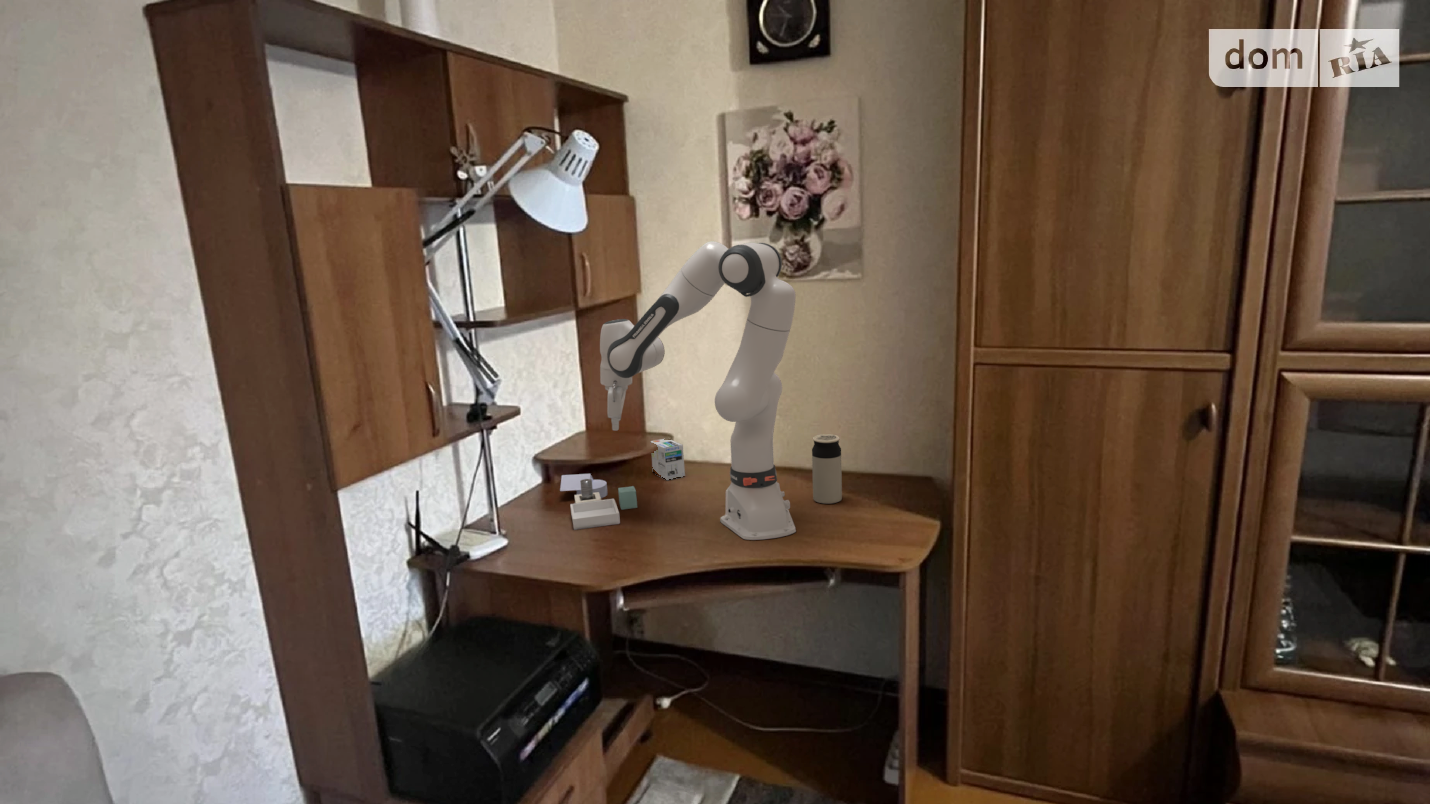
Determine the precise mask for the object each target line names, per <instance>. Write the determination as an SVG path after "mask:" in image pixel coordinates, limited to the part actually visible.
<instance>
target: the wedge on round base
mask: <svg viewBox="0 0 1430 804" xmlns="http://www.w3.org/2000/svg"><path fill="white" fill-rule="evenodd" d="M591 474H592V473H579V474H562V475H561V479H560V480H561V481H560V488H559V491H560V492H566V491H567V492H568V491H576V495H579V494H582V493H581V483H580V481H581V480H583V479H591V480H592V488H593V493H595V492H599V494H600V498H601V499H603V498H605V497H606V496H608V485H607V481H606V480H603V479H594V477H593V475H591Z"/></svg>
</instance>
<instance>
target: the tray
mask: <svg viewBox="0 0 1430 804" xmlns="http://www.w3.org/2000/svg"><path fill="white" fill-rule="evenodd" d="M569 506H570V515H571V520H572V526H573V531H576V530H577V531H578V530H583V529H590V528H592V529H593V528H598V527H599V528H601V527H606V526H607V527H608V526H611V525H612V526H614V525H619V524H621V519H620V516H621V515H620V511H619V509H618V506H617V502H616V500H615V498H607V499H601V500H599V501H591V502H583V503H576V504H575V503H570V505H569Z"/></svg>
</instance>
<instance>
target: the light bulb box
mask: <svg viewBox="0 0 1430 804" xmlns="http://www.w3.org/2000/svg"><path fill="white" fill-rule="evenodd" d="M664 439H665V438H660V439H655V440H650V442H651V443H654V444H656V445H657V447H658V450H656V451H654V453H651V454H650V455H651V468H652V467H653V468H652V470H653V469H654V470H655V471H656V472H657V473H658V474H659V475H661V477H660V478H662V477H663V478H665V479H666V480H665V479H664V480H665V481H670V480H669V479H671V480H674V479H673V478H676V477H681V478H684V477H683V476H685V477H686V473H685V472H686V470H685V460H684V458H685V457H684V444H683V443H680V442H678V441H676V440H672V439H671V440H664ZM651 443H650V444H651ZM663 478H662V479H663ZM676 479H677V478H676Z"/></svg>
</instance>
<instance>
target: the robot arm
mask: <svg viewBox="0 0 1430 804" xmlns="http://www.w3.org/2000/svg"><path fill="white" fill-rule="evenodd" d="M782 268H783V259H782V256H781V254H780V252H779V251H778V249H777V248H776V247H774V246H773V245H771V244H769V243H765V242H746V243H741V244H736V245H734V246H730V248H728V247H727V246H726V245H725V244H723V243H721V242H718V241H714V240H713V241H707V242H705V243H704V244H703V245H701V246H700V247H698V249H696V251H695V252H694V253H692V254H691V256H690V257H689V258H688V259H687V260H686V261H685V263H684V264H683V265H682V266H681V268H680V269H679V270H678V272H677V273H676V275H674V277H673V278H672V280H671V281H670V282H669V284H668V286H667V287H666V288H665V290H664V291H663V292H662V293H661V294H660V296H658V298H657V300H655V302H654V303H653V304H652V305H651V306H650V307H649V309H648V310H647V311H646V312H645V313H644V314H643V315H642V316H641V318H639V320H638V321H637V322H636V324H633V323H632V322H631V321H630V320H629V319H626V318H621V319H614V320H608V321H606V322H604V323H603V324H602V326H601V330H600V337H599V338H600V339H599V353H600V355H601V361H600V366H599V372H600V376H599V378H600V381H599V382H600V384H601V385H602V386H604V389H605V391H607V406H606V407H607V412H606V413H607V418H608V419H611V420H610V421H611V430H612V431H616V432H617V431H618V430H619V429H620V421H621V419H622V413H623V409H624V404H625V400H626V393H627V390H628V389H629V387H628V386H630V385H632V384H633V377H634V376H636V375H637V374H640V373H642V372H646V371H647V370H649V369H653V368H655V367H657V366H658V365H660V364H661V363H662V362H663V361H664V357H665V345H664V344H663V341H662V340H661V338H660V335H661V334H662V333H663V332H664V331H665V330H666V329H667V328H668V327H670V326H671V325H673V324H675V323H676V322H678V321H680V320H683V319H684V318H687V317H689V316H692V315H695V314H696V313H698V312H699V311H701V310H702V309H703V308H705V307H706V306H707V305H708V304H710V302H711V301H712V300H713V299H714V297H715V296H716V295H717V293H718V292H719V291H720V289H722V287H723V286H724V285H727V286H728V287H730V288H732V289H733V290H735V291H736V292H738V293H739V294H741V295H742V296H743V297H745V298H748V297H749V298H750V306H749V310H748V315H747V318H746V322H745V325H744V330H743V333H742V337H741V340H740V344H739V346H738V350H737V351H736V352H737V353H736V355H735V357H734V359H733V361H732V363H731V365H730V368H729V370H728V372H727V374H726V377H725V378H724V381H723V383H722V384H721V386H720V387H719V389H718V390H717V392H716V394H715V397H714V406H715V409H716V410H715V411H716V412H717V414H718V415H719V416H720V417H721V418H722V419H724V420H725V421H728V422H730V423H734V427H733V431H732V433H731V436H730V461H731V466H730V469H729V476H730V477H729V478H730V479H729V480H730V485H729V486H728V487H727V489H726V490H725V514H724V515H722V516H720V517H719V519H720V520H719V521H720V523H721V524H722V525H723V526H725V527H727V528H728V529H729V530H731V531H732V532H733V533H735V535H737V536H739V537H740V538H741V539H743V540H748V541H749V540H751V541H756V540H761V541H762V540H769V539H776V538H777V539H778V538H783V537H785V536H790V535H792V534H794V533H796V532H797V530H796V525H795V523H794V520H793V518H792V515H791V512H790V509H791V502H790V500H789V499H784V498H783V497H785V496H786V495H785V491H784V490H783V491H781V488H780V483H779V482H778V477H777V470H776V465H775V463H774V430H775V424H776V417H777V410H778V404H779V401H780V398H781V395H782V392H783V383H782V380H781V378H780V377H779V375H778V374H776V372H775V371H776V370H777V367H778V366H779V364H780V362H781V361H782V359H783V356H784V352H785V351H786V350H785V349H786V346H787V342H788V339H789V335H790V332H791V328H792V325H793V318H794V315H795V306H796V296H797V295H796V291H795V289H794V287H793V286H792V285H791V284H790V283H788V282H786V281H785V280H782V279H780V278H779V277H778V276H779V275H780V273H781V272H782Z"/></svg>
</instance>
